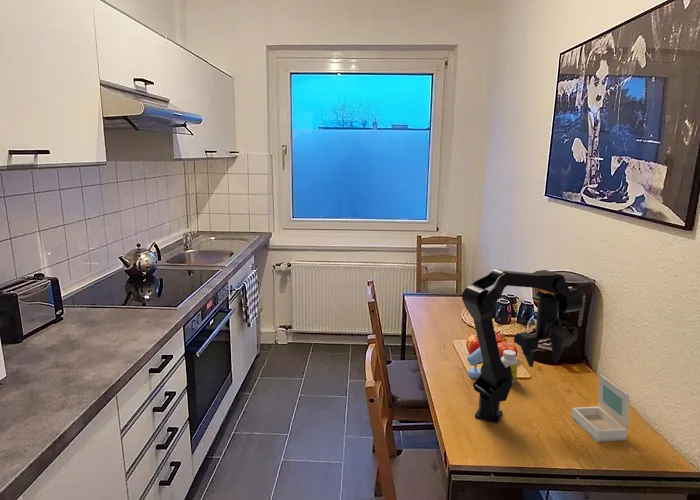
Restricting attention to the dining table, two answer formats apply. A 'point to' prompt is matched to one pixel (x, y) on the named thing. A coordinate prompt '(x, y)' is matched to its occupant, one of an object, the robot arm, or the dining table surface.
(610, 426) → the box
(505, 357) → the supplement bottle
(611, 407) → the lid
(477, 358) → the spotlight
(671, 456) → the dining table surface
